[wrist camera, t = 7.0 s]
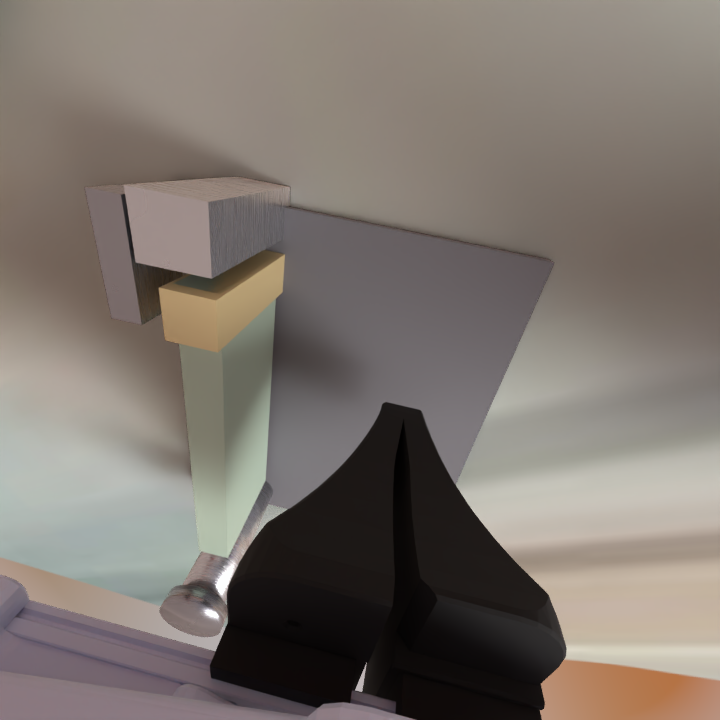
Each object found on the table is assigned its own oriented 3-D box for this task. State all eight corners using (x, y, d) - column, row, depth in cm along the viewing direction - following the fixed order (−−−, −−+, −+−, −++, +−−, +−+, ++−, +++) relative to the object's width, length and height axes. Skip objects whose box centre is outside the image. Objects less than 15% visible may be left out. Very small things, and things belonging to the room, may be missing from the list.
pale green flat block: (285, 254, 12) (216, 300, 8) (270, 474, 18) (225, 568, 14) (246, 245, 12) (158, 287, 8) (243, 468, 18) (191, 559, 14)
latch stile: (290, 186, 12) (207, 201, 7) (284, 280, 13) (214, 341, 9) (211, 171, 12) (82, 175, 7) (215, 265, 13) (111, 318, 9)
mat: (550, 259, 12) (554, 262, 11) (429, 536, 19) (429, 543, 19) (170, 182, 12) (163, 182, 12) (198, 480, 20) (194, 486, 19)
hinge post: (282, 472, 18) (219, 612, 13) (279, 502, 20) (221, 642, 14) (237, 461, 18) (156, 595, 13) (238, 492, 20) (163, 627, 14)
